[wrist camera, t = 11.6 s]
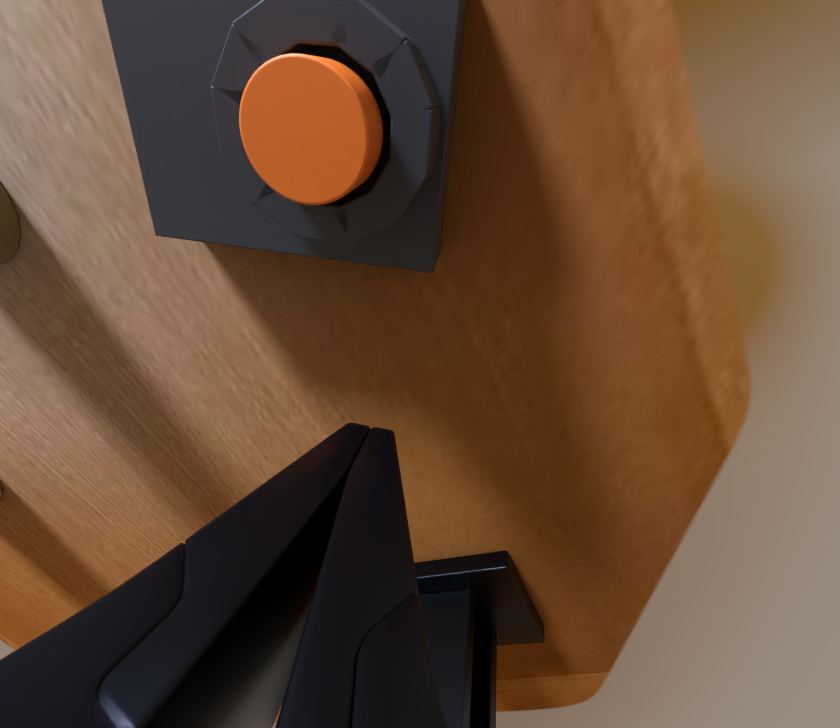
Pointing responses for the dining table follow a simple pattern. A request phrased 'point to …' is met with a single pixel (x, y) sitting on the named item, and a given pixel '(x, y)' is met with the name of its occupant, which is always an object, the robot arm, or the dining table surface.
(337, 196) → the button
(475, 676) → the switch bracket
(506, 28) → the dining table surface
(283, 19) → the button box
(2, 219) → the olive game pawn
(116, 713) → the robot arm
